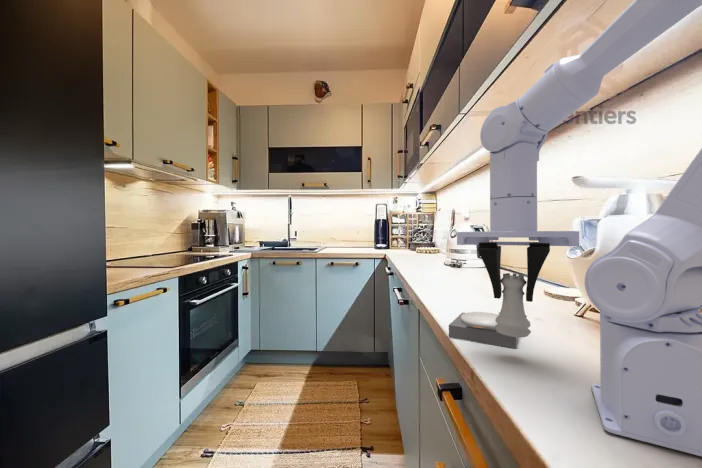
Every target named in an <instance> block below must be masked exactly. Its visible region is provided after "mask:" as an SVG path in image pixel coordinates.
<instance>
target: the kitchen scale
mask: <svg viewBox="0 0 702 468" xmlns="http://www.w3.org/2000/svg"><path fill="white" fill-rule="evenodd" d="M497 316H499V313H492V312H484V311H482V312H481V311H469V312H461V313H460V314H459V315H458V316H456V318H455V319H454V320H452V322H450V323H449V324H448V338H451V337H454V338H453V339H457V338H458V340H463V339H464V340H463V341H468V340H470V342H474V341H476V342H475V343H480V342H481V343H482V344H486V343H487V345H493V346H498V347H499V346H500V347H505V348H510V349H515V350H516V349H517V346H518V344H519V343H518V342H519V340H520V338H519V337H510V336H506V335H503V334H500V333H499V332H498V331H497V330H496V328H495V326H496V325H497V322H496V321H495V320H496V317H497ZM481 343H480V344H481Z"/></svg>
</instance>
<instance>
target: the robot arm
mask: <svg viewBox="0 0 702 468" xmlns="http://www.w3.org/2000/svg"><path fill="white" fill-rule="evenodd" d="M700 7H702V0H633V1H632V2H631V3H630V4H629V5H628V6H627V7H626V8H625V9H624V10H623V11H622V12H621V13H620V14H619V15H618V16H617V17H616V18H614V20H613V21H612V22H611V23H610V24H609V25H608V26H607V27H606V28H605V29H604V30H603V31H602V32H601V33H600V34H599V35H598V36H597V38H595V39H594V40H593V41H592V42H591V43H590V44H589V45H588V46H587V47H586V48H585V49H584V51H582V52H581V53H580V54H575V55H572V56H571V55H570V56H565V57H561V58H560V59H559V60H558V61H557V62H553V63H551V64H550V65H549V66H548V67H547V68H546V69H545V70H544V74H543V75H542V76H540V78H538V80H537V81H535V83H533V85H532V86H531V87H529V88H528V89H527V90H526V91H525V92H524V93H522V95H521V96H519V97H518V98H517V99H515V100H514V101H511V102H510V103H508V104H506V105H500V106H497V107H495V108H494V109H492V110H491V111H490V113H489V114H488V115H487V117H486V118H485V119H484V121H483V123H482V126H481V129H480V133H479V136H480V143H481V145H482V146H483V148H484V149H485V150H487V151H489V190H490V191H489V223H490V224H489V226H490V227H489V231H457V232H456V245H457V246H468V245H469V246H470V245H471V246H478V248H477V252H478V254H479V256H480V258H481V260H482V262H483V264H484V266H485V269H486V271H487V274H488V277H489V280H490V283H491V286H492V287H491V288H492V291H493V299H498V300H499V299H500V300H501V297H502V291H503V289H502V288H503V287H502V283H501V282H500V280H501V279H502V277H501V263H502V262H501V260H502V259H501V256H502V255H501V254H502V246H526V262H527V263H526V264H527V265H526V267H527V268H526V269H527V278H526V282H527V283H526V289H525V290H526V291H525V301H526V302H530V303H531V302H533V300H534V299H533V298H534V291H535V286H536V282H537V279H538V277H539V275H540V272H541V270H542V268H543V265H544V263H545V261H546V259H547V257H548V255H549V254H550V251H551V247H574V248H575V247H580V231H579V230H545V231H544V230H538V162H539V161H540V151H541V149H542V147H543V146H544V144H545V142H546V141H547V139H548V133H549V132H551V131H552V130H553V129H555V128H556V127H557V126H558V125H559V124H561V123H563V121H565V120H566V119H567V118H569V117H570V116H571V115H573V114H574V113H575V112H577V111H578V110H579V109H581V108H582V107H583V106H584V105H586V104H587V103H588V102H590V101H591V100H592V99H594V98H595V97H597V96H598V94H599V92H600V90H601V89H600V88H601V85H602V82H603V78H604V77H605V76H606V75H607V74H608V73H610V72H611V71H613V70H614V69H616V68H617V67H618V66H620V65H621V64H623V63H624V62H625V61H627V60H628V59H629V58H631V57H632V56H634V55H635V54H636V53H638V52H639V51H640V50H642V49H643V48H644V47H646V46H647V45H648V44H650V43H651V42H653V41H654V40H655V39H657V38H658V37H660V36H661V35H663V34H664V33H665V32H666V31H668V30H669V29H670V28H672V27H673V26H675V25H676V24H677V23H679V22H680V21H682V20H683V19H685V18H686V17H687V16H688V15H690V14H691V13H693V12H694V11H695V10H697V9H698V8H700ZM499 238H511V239H512V238H514V239H515V238H517V239H518V238H527V239H528V241H499V240H500V239H499ZM527 246H528V247H527ZM584 288H585V291H586V295H587V296H588V297H587V298H588V299H589V300H590V302H591V303H592V304H593V305H594V307H595V308H596V309H597V310H598V311H599V322H600V324H599V329H600V330H599V335H600V338H599V339H600V341H599V345H600V347H599V348H600V349H599V351H600V353H599V354H600V356H599V357H600V358H599V360H600V367H599V368H600V371H599V373H600V376H599V377H600V383H595V382H593V383H591V384H590V387H591V391H592V393H593V397H594V402H595V404H596V408H597V411H598V415H599V417H600V421H601V424H602V427H603V428H602V429H604V430H605V431H606V432H608V433H611V434H614V435H619V436H621V437H625V438H630V439H633V440H636V441H640V442H645V443H648V444H652V445H656V446H660V447H663V448H667V449H672V450H676V451H679V452H682V453H687V454H691V455H694V456H698V457H702V312H701V310H702V147H701V149H700V150H699V151H698V153H697V154H696V155H695V157H694V158H693V159H692V161H691V162H690V163H689V164H688V167H687V168H686V170H685V171H684V172H683V173H682V175H681V176H680V178H679V179H678V180H677V182H676V183H675V185H674V186H673V187H672V189H671V190H670V192H669V193H668V195H666V198H664V200H663V202H662V203H661V204H660V205H659V207H658V209H657V210H656V211H655V213H654V214H652V215H651V216H650V217H649V218H647V219H646V220H644V221H642V222H641V223H640V224H638V225H637V226H635V227H634V228H632V229H631V230H629V231H628V232H626V234H624V236H623V237H622V239H621V240H620V242H619V243H618V244H617V246H615V247H614V248H613V249H611V250H610V251H608V252H607V253H605V254H602V255H600V256H598V257H597V258H595V259H594V260H593V261H592V262H591V263H590V265H589V266H588V268H587V269H586V272H585V276H584Z"/></svg>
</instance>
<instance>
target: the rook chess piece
mask: <svg viewBox="0 0 702 468" xmlns="http://www.w3.org/2000/svg"><path fill="white" fill-rule="evenodd" d="M500 282H501V285H502V286H503V287H502V288H503V289H502V291H501V294H502V303H501V309H500V311H499V312H498V314H499V316H497V317H496V320H495V321H496V322H497V325H496V326H495V328H496V330H497V331H498V332H499V333H500V334H503V335H506V336H510V337H519V339H520V338H526V337H529V335H530V334H531V333H532V331H531V330H530V329H529V328H530V327H531V322H530V320H528V316H527V315H526V312H525V306H524V295H526V292H525V291H524V287H525V286H526V285H527V280H526V279H525V277H524V274H521V273H519V274H518V275H517V273H514V272H513V273H512V274H511V273H510V272H509V273H508V272H507V273H502V277H501V280H500Z"/></svg>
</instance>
